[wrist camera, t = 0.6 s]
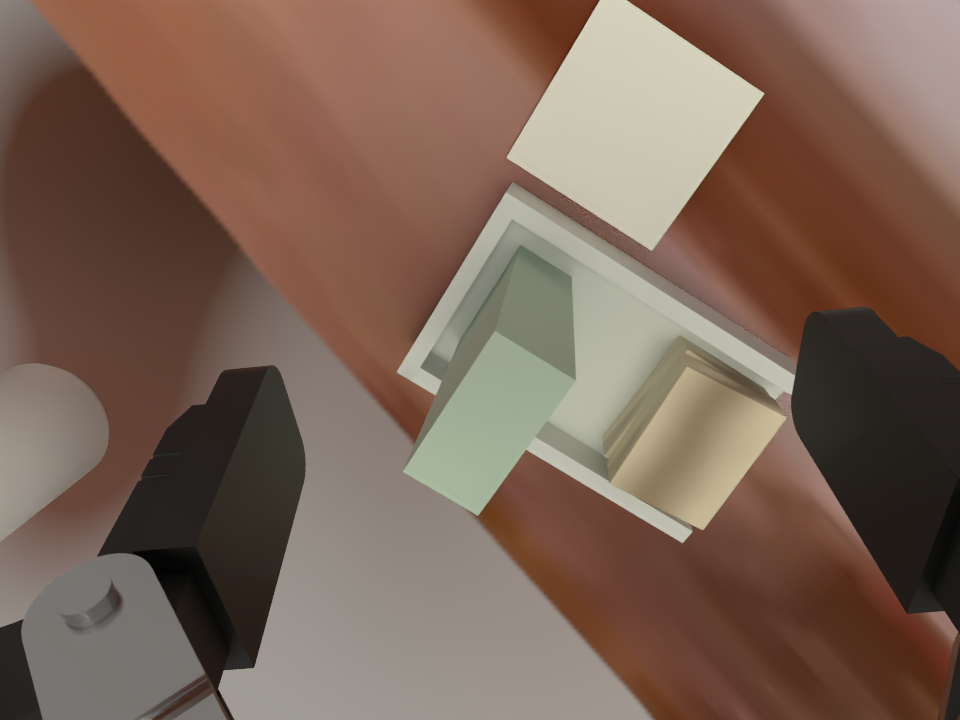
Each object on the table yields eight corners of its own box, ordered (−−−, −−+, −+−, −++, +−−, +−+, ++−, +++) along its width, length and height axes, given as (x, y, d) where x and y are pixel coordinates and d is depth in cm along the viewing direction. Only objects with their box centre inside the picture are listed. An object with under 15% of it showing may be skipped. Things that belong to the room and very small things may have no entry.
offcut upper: (774, 398, 39) (787, 417, 37) (695, 506, 42) (703, 530, 40) (679, 350, 39) (686, 366, 37) (606, 462, 42) (609, 484, 39)
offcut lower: (764, 388, 42) (776, 405, 39) (681, 485, 44) (687, 506, 42) (680, 335, 41) (687, 349, 39) (601, 437, 44) (604, 456, 42)
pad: (761, 93, 38) (764, 93, 37) (650, 249, 42) (651, 251, 41) (606, -11, 37) (607, -13, 37) (507, 157, 41) (506, 157, 40)
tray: (790, 358, 43) (818, 390, 38) (670, 499, 47) (682, 543, 42) (512, 181, 41) (506, 192, 36) (413, 344, 45) (396, 372, 41)
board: (571, 276, 41) (576, 380, 26) (507, 371, 43) (478, 515, 28) (520, 244, 40) (494, 330, 25) (458, 341, 43) (402, 471, 28)
